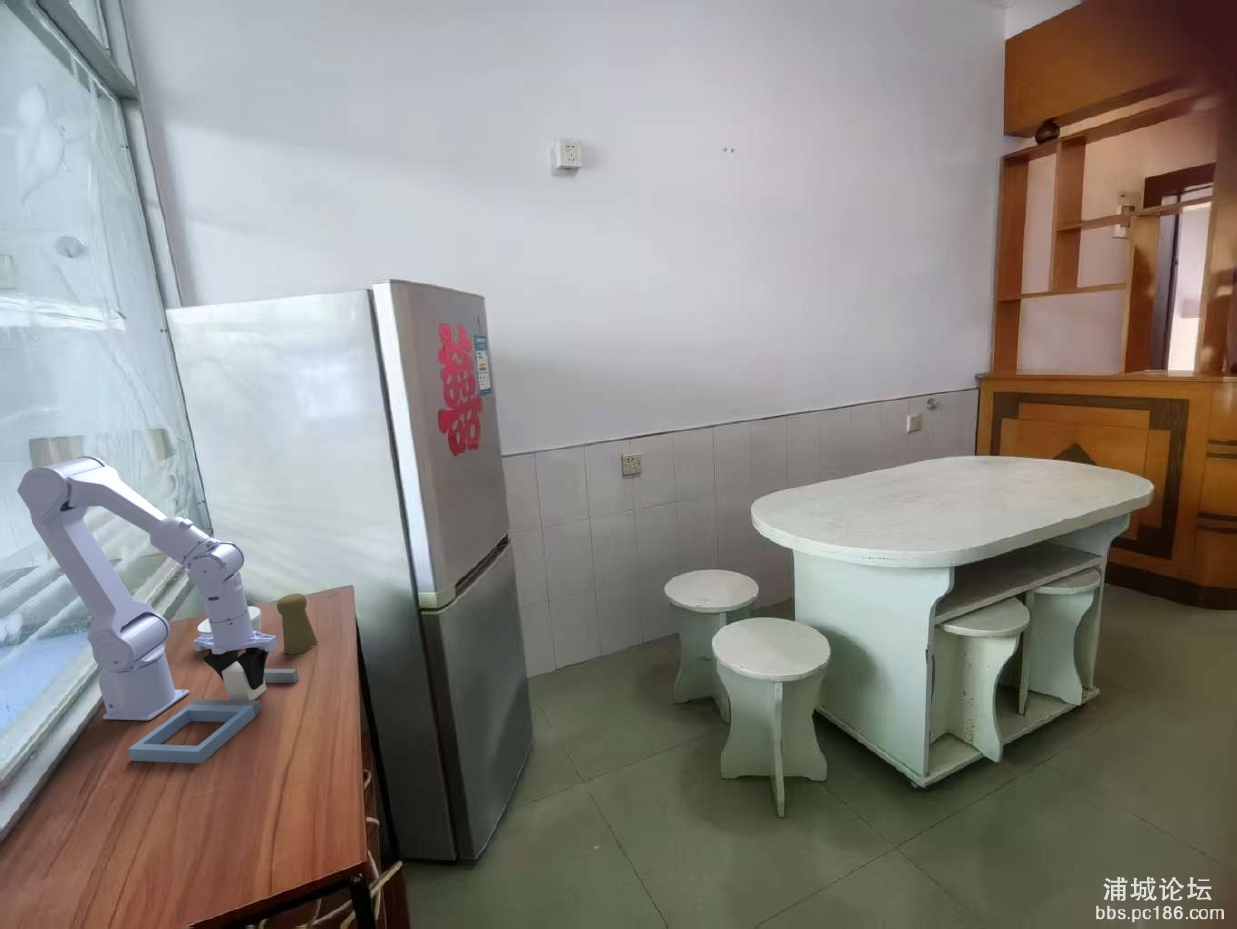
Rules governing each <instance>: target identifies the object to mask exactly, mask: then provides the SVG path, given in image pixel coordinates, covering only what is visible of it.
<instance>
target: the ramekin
mask: <svg viewBox="0 0 1237 929" xmlns="http://www.w3.org/2000/svg"><path fill="white" fill-rule="evenodd" d="M248 610H249V614H250V619H251V623H252V627H253V631H257V632H260V633H262V632H261V631H262V627H261V626H262V625H261V624H262V623H261V621H262V620H261V618H262V610H261V608H259V607H256V606H248ZM196 630H197V633H198V635H200V636H202V635H212V632H211V628H210V624H209V620H208V618H206V619H204V620H203V621H202V622H200V624H198V626H197V629H196Z"/></svg>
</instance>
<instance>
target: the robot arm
mask: <svg viewBox="0 0 1237 929" xmlns="http://www.w3.org/2000/svg"><path fill="white" fill-rule="evenodd" d="M17 493H18V494H19V496H20V498H21V499H22V501H23V503H24V504H25V505H26V508H28V510H29V514H30V518H31V523H32V525H33V527H34V529H35V530H36V532H37V533H38V535H39V537H40V538H41V540H42V541H43V542H44V544H45V546H46V547H47V549H48V550H49V552H50V553H51V554H52V556H53V558H54V559H55V561H56V563H57V564H58V565H59V567H60V569H61V570H62V572H63V573H64V574H65V576H66V578H67V580H69V582H70V584H71V586H72V587H73V588H74V590H75V591H76V593H77V594H78V596H79V598H80V599H81V600H82V602H83V604H84V605H85V606H86V608H87V610H88V611H89V612H90V614H91V616H92V617H93V622H92V624H91V627H90V629H89V631H88V632H87V635H86V636H87V637H86V639H87V641H88V642H89V643H90V645H91V648H92V657H93V659H94V661H95V663H96V664H97V665H98V667H100V668H102V669H101V671H100V673H99V675H98V676H99V677H98V686H99V689H100V692H101V696H102V700H103V703H104V707H105V710H106V714H104V715H102V719H103V720H121V721H123V720H124V721H150V720H153V719H155V717H157V716H159V715H160V714H161V713H163V712H164V711H166V710H167V709H168V708H170V707H171V706H173V705H174V704H175V703H177V702H179V701H180V700H181V699H182V698H184V697H185V696H187V695H188V694H189V693H190V690H189V689H175V685H174V681H173V679H172V678H173V677H172V673H171V670H170V666H169V663H168V659H167V656H166V651H165V649H166V648H167V645H166V642H165V641H167V640H168V639H169V637H170V635H171V626H170V623H169V622H168V620H167V619H166V618H165V617H164V616H163V615H161V614H160V613H158V612H157V611H156V610H155V609H154V608H153V606H152V605H151V603H147V602H144V601H140V600H139V601H138V600H135V599H134V598H133V596H132V594H131V593H130V592H129V590H128V589H127V587H126V585H125V584H124V582H123V580H122V579H121V577H120V576H119V574H118V573H117V571H116V570H115V568H114V566H113V565H112V563H111V561H110V560H109V559H108V557H107V555H106V554H105V552H104V550H103V549H102V547H101V545H100V544H99V542H98V541H97V540H96V538H95V536H94V534H93V533H92V531H91V530H90V528H89V527H88V526H87V524H86V522H85V521H84V517H85V515H86V513H87V512H88V509H89V507H102V508H104V509H105V510H108V511H109V512H111V513H113V514H114V515H116V516H118V517H120V518H121V519H123V520H124V521H126V522H129V523H130V524H131V525H134V526H135V527H137V528H139V529H140V530H142V531H144V532H146V533H148V534H149V542H150V545H151V546H152V547H154V548H155V549H157V550H158V551H160V552H162V553H163V554H164V555H166V556H167V557H169V558H171V559H172V560H174V561H175V562H176V563H178V564H180V565H181V566H183V567H184V568H185V569H187V570H189V571H187V572H186V575H187V577H188V579H189V580H190V582H191V583H193V585H195V586H196V587H197V588H198V591H199V595H201V596H202V600H203V603H204V607H205V610H206V615H207V619H208V620H209V624H210V628H211V632H212V635H202V636H201V635H200V636H199V637H197V638H195V639H194V640H193V641H192V643H193V646H194V650H195V652H201V651H203V650H209V652H208V654H206V655H205V656H204V657H203V661H204V663H206V664H207V665H208V666H210V667H211V668H212V669H213V670H214V671H215V673H217V674H218V676H219V677H220V679H221V680H222V682H223V683H224V679H223V675H222V671H223V670H225V669H226V668H227V667H229V666H230V665H232V664H233V663H234V662H236V661H237V662H238V663H239V664H240V665H241V667H242V668H243V670H244V672H245V674H246V676H247V680H248V683H249V686H250V687H251V689H252V690H255V689H257V688H258V687H259V686H261V685H262V684H263V680H264V669H266V668H265V667H266V663H267V662H266V661H267V659H268V655H269V652H270V653H271V651H273V650H274V649H276V648H278V647H279V641H278V637H277V636H276V635H272V634H271V635H270V634H266V633H263V632H257V631H253V627H252V623H251V619H250V614H249V610H248V607H249V606H248V602H247V598H246V593H245V590H244V585H243V580H242V576H241V571H240V570H241V569H242V568H243V567H244V562H245V555H244V552H243V551H242V549H241V548H240V547H239V546H237V545H236V543H234V542H233V541H232V542H231V541H229V540H227V541H225V540H224V541H222V540H218V539H217V538H214V537H211V536H209V534H207V533H205V532H203V531H202V530H201V529H199V528H198V527H197V526H196V525H194V522H193V521H192V520H190V519H189V518H183V517H182V516H172V517H169V516H166V515H165V514H164V513H163V512H161V511H160V510H159V509H157V508H156V507H155V506H154V505H153V504H151V503H150V502H149V501H148V500H146V499H145V498H143V497H142V496H141V495H140V494H139V493H137V492H136V491H135V490H134V489H132V488H131V487H129V485H127V484H126V483H125V482H124V481H122V480H121V479H120V477H119V474H118V471H117V470H116V469H115V468H113V467H111V465H110V466H109V465H107V464H106V462H104V461H103V460H102V459H100V458H99V457H97V456H92V455H81V456H78V457H76V458H74V459H69V460H65V461H62V462H57V463H53V464H49V465H46V466H45V465H44V466H41V465H40V466H38V467H34V468H31V469H28V471H27V472H25V474H24V475H23V477H22V479H21V482H20V483H19V486H18V488H17ZM239 650H244V652H243V653H241V654H239Z"/></svg>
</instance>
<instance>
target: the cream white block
mask: <svg viewBox="0 0 1237 929" xmlns="http://www.w3.org/2000/svg"><path fill="white" fill-rule="evenodd" d="M222 675H223V679H224V682H223V683H224V687H225V691H226V694H227V695H226V696H227V698H228V699H227V700H255V699H257V698H258V697H259V696H261V695H262V694H263V693H264V692H265V691H267V685H266V682H265V679H264V680H263V684H262V685H261V686H259V687H258V688H257V689H255V690H252V689H251V687H250V686H249V683H248V680H247V676H246V674H245V672H244V670H243V668H242V667H241V665H240V664H239V663H238V662H237V661H236V662H234V663H233V664H232V665H230V666H229V667H227V668H226V669H225V670H223V671H222Z"/></svg>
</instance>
